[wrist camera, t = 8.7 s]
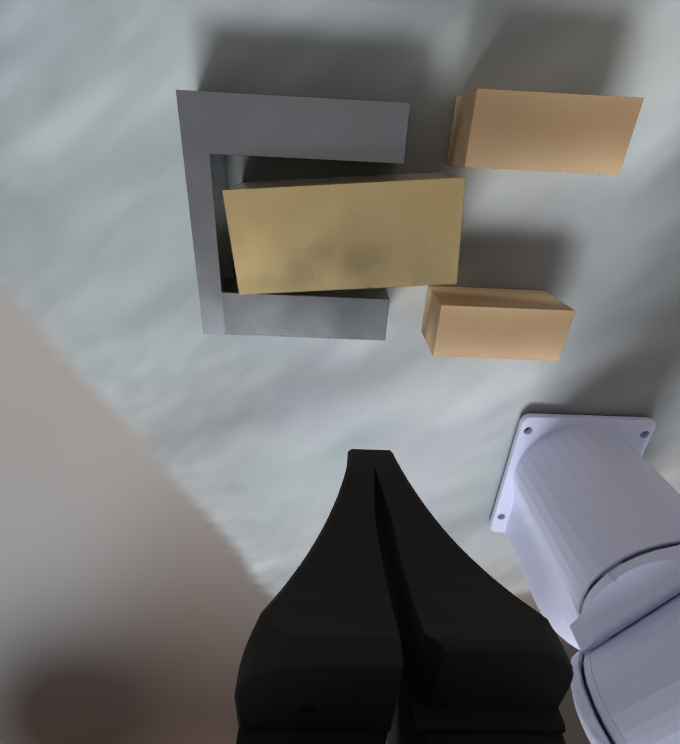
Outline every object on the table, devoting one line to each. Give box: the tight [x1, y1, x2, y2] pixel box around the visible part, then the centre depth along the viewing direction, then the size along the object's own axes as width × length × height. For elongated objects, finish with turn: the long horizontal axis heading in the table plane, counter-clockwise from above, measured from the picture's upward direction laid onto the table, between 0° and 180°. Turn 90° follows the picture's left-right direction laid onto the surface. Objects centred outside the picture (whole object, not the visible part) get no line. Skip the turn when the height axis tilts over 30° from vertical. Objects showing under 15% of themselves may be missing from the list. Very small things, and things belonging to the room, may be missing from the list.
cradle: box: [176, 90, 410, 340], centre depth 19 cm, size 10×8×2 cm
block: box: [222, 172, 465, 295], centre depth 18 cm, size 4×9×4 cm, turn 93°
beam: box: [422, 88, 644, 361], centre depth 19 cm, size 10×6×3 cm, turn 177°
